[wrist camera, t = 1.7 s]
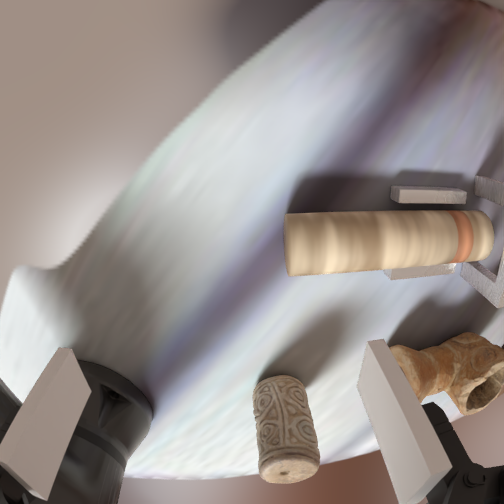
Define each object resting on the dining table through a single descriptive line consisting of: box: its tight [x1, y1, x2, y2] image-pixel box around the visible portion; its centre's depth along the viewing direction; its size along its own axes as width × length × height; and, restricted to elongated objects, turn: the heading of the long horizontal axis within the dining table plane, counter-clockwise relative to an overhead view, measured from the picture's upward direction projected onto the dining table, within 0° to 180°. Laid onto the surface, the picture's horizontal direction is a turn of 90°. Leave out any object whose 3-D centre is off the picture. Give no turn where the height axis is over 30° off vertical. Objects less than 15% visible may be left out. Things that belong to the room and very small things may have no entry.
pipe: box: [389, 332, 504, 415], centre depth 29 cm, size 9×16×10 cm, turn 95°
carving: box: [253, 375, 320, 483], centre depth 29 cm, size 6×8×12 cm
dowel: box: [284, 210, 494, 276], centre depth 25 cm, size 20×5×5 cm, turn 93°
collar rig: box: [383, 176, 504, 308], centre depth 24 cm, size 25×12×7 cm, turn 93°
